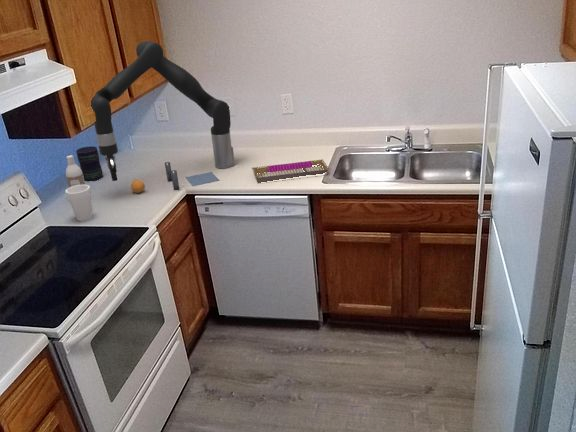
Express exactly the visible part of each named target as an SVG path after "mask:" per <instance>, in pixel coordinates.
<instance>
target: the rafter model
mask: <svg viewBox="0 0 576 432" xmlns="http://www.w3.org/2000/svg"><path fill="white" fill-rule="evenodd" d="M317 164H319V165H317ZM312 165H317V167H315V166H314V167H312ZM320 165H321V166H320ZM318 166H320V167H318ZM322 166H323V168H322ZM311 167H312V168H311ZM302 168H303V170H304V171H305V172H303V170H302ZM251 169H252V172H253V175H254V179H255V180H256V184H262V183H261V182H266V183H268V182H267V181H273V180H279V179H286V178H293V177H299V176H306V175H316V174H323V173H325V172H327V171H328V172H329V170H331V168H329V166H328V165H327V163H326V162H325V161H324V159H323V158H322V159H315V160H307V161H299V162H298V161H297V162H291V163H283V164H282V163H281V164H273V165H271V164H270V165H265V166H257V167H251ZM294 169H295V172H294ZM309 169H310V170H309ZM312 169H313V170H312ZM323 169H324V170H323ZM285 170H286V171H285ZM300 170H301V171H300ZM277 171H278V172H277ZM264 172H266V173H264ZM267 172H270V173H267ZM280 172H281V174H280ZM292 172H293V173H292ZM257 173H258V174H257ZM259 173H260V174H259ZM271 173H272V175H271ZM274 173H275V174H274ZM277 173H278V174H277ZM265 174H266V175H265ZM268 174H269V175H268ZM263 175H264V176H263Z"/></svg>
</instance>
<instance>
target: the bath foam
mask: <svg viewBox="0 0 576 432" xmlns="http://www.w3.org/2000/svg"><path fill="white" fill-rule="evenodd" d="M74 157H75V156H74V154H73V155H71V154H70V155H67V156H66V157H65V158H66V162H67V166H66V169H65V178H66V181H67V185H68V188H70V187H72V186H76V185H86V182H85V181H84V177H83V173H82V170H81V167H80V165H78V164H76V162H75V158H74Z"/></svg>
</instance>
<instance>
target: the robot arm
mask: <svg viewBox="0 0 576 432" xmlns="http://www.w3.org/2000/svg"><path fill="white" fill-rule="evenodd" d="M135 53H136V55H137V58H136V59H135V60H134V61H133V62H132V63H131V64H130V65H128V66H127V67H125V68H123V69H122V70H121V71H119V72H118V73H117V74H116V75H114V76H113V77H112V78H111V79H110V80H109V81H108V82H107V84H106V85H105V86H103V87H102V88H100V89H99V90H98V91H96V92H95V93H96V94H95V93H94V94H95V96H94V97H93V98H92V100H91V107H92V109H93V111H92V112H94V116H95V120H96V121H95V120H94V128H95V133H96V141H97V146H98V152H99V153H100V155H101V156H104V157H105V163H106V165H107V167H108V169H109V173H110V176H111V181H112V182H116V181H118V175H117V172H118V171H117V161H116V159H117V158H116V157H115V155H116V154H117V153H119V151H118V150H119V149H118V144H117V141H116V140H117V139H116V135H115V132H114V128H113V123H112V108H111V104H110V103H111V102H112V101H113V100H117V99H118V98H120V97H121V96H122V95H123V94H124V93H125V92H126V91H127V90H128V89H129V88H130V87H131V86H132V84H134V83H135V82H136V81H137V80H138V79H139V78H140V77H142V76H143V75H144V74H145V73H146V72H147V71H149V70H150V69H151V68H152V69H153V70H154V71H156V72H157V73H158V74H159V75H161V76H162V77H163V78H164V80H166V81H167V82H168V83H169V84H170V85H171V86H173V87H174V88H175V89H176V90H177V91H179V93H181V94H182V95H183V96H185V97H186V98H187V99H189V100H191V101H192V102H194V103H195V104H196V105H198V107H200V109H201V110H202V111H203V112H204V113H206V115H207V116H209V117H210V118H211V119H212V121H213V126H210V127H211V128H210V135H211V143H212V150H213V157H214V158H213V159H214V165H215V168H217V169H228V168H231V167H233V166H235V165H236V163H235V162H236V161H235V154H234V147H233V146H232V139H231V130H230V129H231V126H232V125H231V122H232V121H231V110H230V107H229V104H228V103H227V102H226V101H224V100H221V99H218V98H215V97H214V96H212V95H211V94H209V93H208V92H207V91H206V90H205V89H204V88H203V86H202V85H201V84H200V82H199V80H198V79H196V77H194V76H193V75H192V74H191V73H190V72H189V71H187V69H185V68H183V67H181V66H180V65H178V64H176V63H174V62H173V61H171V60H170V59H168V58H167V57H166V56H165V55H164V49H163V47H162V46H161V44H159V43H157V42H155V41H147V40H144V41H141V42H139V43H138V44H137V45H136V49H135Z"/></svg>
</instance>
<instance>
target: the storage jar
mask: <svg viewBox="0 0 576 432" xmlns="http://www.w3.org/2000/svg"><path fill="white" fill-rule="evenodd" d="M75 152H76V153H75V154H76V157H77V160H78V163H79V167H80V169H81V170H82V173H83V177H84V181H93V182H97V180H98V181H100V180H102V179H103V178H104V175H103V173H104V172H103V168H102V165H101V163H100V155H99V150H98V147H97V146H95V145H94V146H93V145H92V146H84V147H80V148H77V149H76V151H75ZM101 178H102V179H101ZM99 179H100V180H99Z"/></svg>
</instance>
